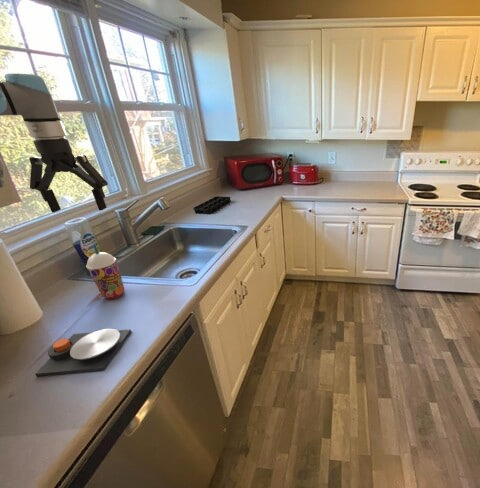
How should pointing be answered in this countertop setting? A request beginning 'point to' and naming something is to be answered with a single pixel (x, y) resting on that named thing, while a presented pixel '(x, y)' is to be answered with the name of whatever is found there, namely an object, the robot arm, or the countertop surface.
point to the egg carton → (211, 205)
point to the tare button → (61, 345)
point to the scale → (68, 365)
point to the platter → (94, 344)
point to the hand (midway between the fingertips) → (80, 210)
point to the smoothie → (105, 274)
